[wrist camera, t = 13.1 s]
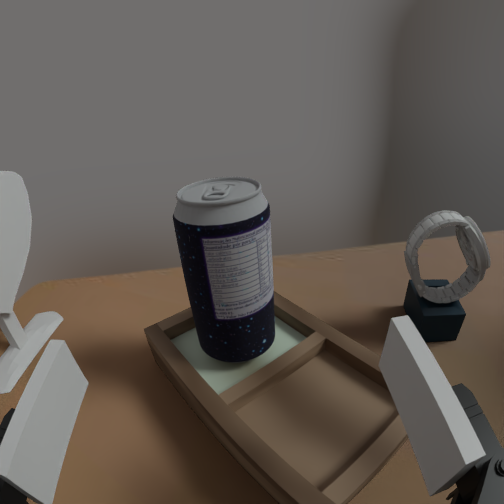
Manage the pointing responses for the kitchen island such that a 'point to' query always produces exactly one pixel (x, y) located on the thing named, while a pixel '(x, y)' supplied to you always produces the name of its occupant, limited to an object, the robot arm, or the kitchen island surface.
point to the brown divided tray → (290, 405)
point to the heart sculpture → (17, 283)
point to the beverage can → (227, 265)
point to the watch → (440, 291)
